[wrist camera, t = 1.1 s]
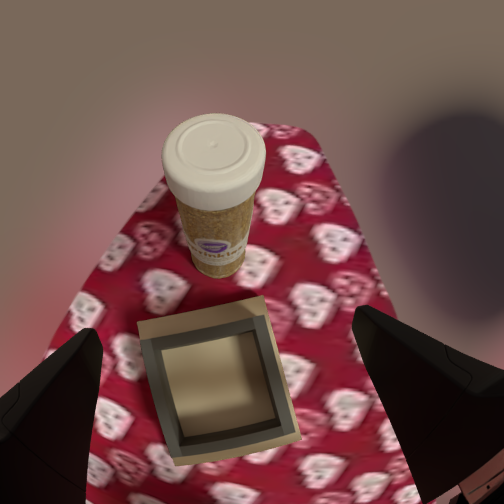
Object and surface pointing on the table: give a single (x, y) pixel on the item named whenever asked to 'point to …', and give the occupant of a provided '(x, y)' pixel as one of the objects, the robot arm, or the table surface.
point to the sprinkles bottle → (214, 187)
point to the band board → (218, 382)
